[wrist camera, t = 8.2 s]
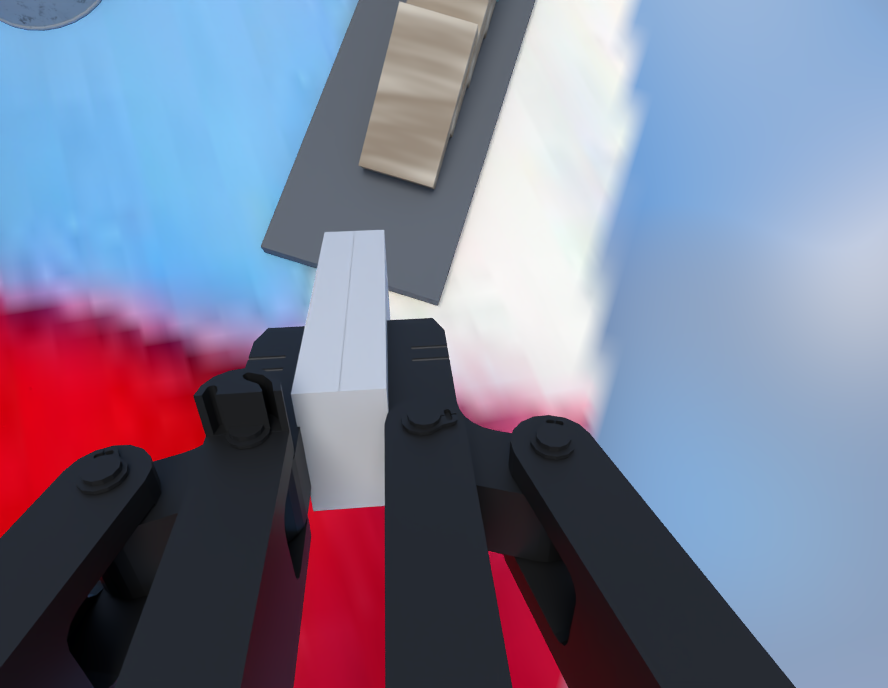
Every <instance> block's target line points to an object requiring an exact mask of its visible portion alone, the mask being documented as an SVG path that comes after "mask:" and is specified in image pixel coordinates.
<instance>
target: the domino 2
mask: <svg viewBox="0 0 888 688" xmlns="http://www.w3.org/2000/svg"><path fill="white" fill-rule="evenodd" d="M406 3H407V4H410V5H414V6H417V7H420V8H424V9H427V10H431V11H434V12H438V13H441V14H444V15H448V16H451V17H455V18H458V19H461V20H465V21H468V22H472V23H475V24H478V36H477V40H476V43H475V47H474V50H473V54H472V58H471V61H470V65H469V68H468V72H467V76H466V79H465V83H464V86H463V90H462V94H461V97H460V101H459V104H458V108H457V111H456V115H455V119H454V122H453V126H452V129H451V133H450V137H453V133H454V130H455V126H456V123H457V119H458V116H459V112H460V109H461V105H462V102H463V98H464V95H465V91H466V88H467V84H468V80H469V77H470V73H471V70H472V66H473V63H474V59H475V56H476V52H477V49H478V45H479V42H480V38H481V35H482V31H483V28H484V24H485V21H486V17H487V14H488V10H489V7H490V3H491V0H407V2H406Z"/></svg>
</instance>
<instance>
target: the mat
mask: <svg viewBox="0 0 888 688" xmlns="http://www.w3.org/2000/svg"><path fill="white" fill-rule="evenodd" d="M399 1H400V2H403V3H406V2H407V0H359V1H358V4H357V6H356V9H355V11H354V14H353V17H352V19H351V22H350V24H349V27H348V29H347V32H346V34H345V37H344V39H343V42H342V44H341V47H340V49H339V52H338V54H337V57H336V59H335V62H334V64H333V67H332V69H331V72H330V74H329V77H328V79H327V82H326V84H325V87H324V89H323V92H322V94H321V97H320V99H319V102H318V104H317V107H316V109H315V112H314V114H313V117H312V119H311V122H310V124H309V127H308V129H307V132H306V134H305V137H304V139H303V142H302V144H301V147H300V149H299V152H298V154H297V157H296V159H295V162H294V164H293V167H292V169H291V172H290V174H289V177H288V179H287V182H286V185H285V187H284V190H283V192H282V195H281V197H280V200H279V202H278V205H277V207H276V210H275V212H274V215H273V217H272V220H271V222H270V225H269V227H268V230H267V232H266V235H265V237H264V240H263V242H262V245H261V248H262V249H263V250H264V252H266V253H269V254H272V255H276V256H279V257H282V258H285V259H289V260H292V261H295V262H298V263H302V264H305V265H308V266H311V267H315V268H317V266H318V261H319V257H320V252H321V247H322V242H323V237H324V232H340V231H365V230H384V234H385V249H386V264H387V279H388V290H389V291H392V292H396V293H399V294H402V295H405V296H409V297H412V298H415V299H418V300H422V301H425V302H428V303H431V304H435V305H438V303H439V300H440V297H441V294H442V291H443V288H444V284H445V281H446V278H447V275H448V272H449V269H450V266H451V262H452V259H453V256H454V253H455V250H456V247H457V244H458V241H459V237H460V234H461V231H462V228H463V225H464V222H465V219H466V215H467V212H468V209H469V206H470V203H471V200H472V197H473V193H474V190H475V187H476V184H477V181H478V178H479V175H480V171H481V168H482V165H483V162H484V159H485V156H486V153H487V150H488V146H489V143H490V140H491V137H492V134H493V131H494V128H495V124H496V121H497V118H498V115H499V112H500V109H501V106H502V102H503V99H504V96H505V93H506V90H507V87H508V84H509V81H510V77H511V74H512V71H513V68H514V65H515V62H516V59H517V55H518V52H519V49H520V46H521V43H522V40H523V37H524V33H525V30H526V27H527V24H528V21H529V18H530V15H531V12H532V8H533V5H534V2H535V0H498V2H497V1H496V4H495V7H494V11H493V14H492V17H491V21H490V24H489V28H488V31H487V35H486V38H483V41H482V44H481V48H480V51H479V54H478V58H477V61H476V65H475V68H474V72H473V75H472V79H471V82H470V85H469V88H466V91H465V95H464V98H463V102H462V105H461V109H460V112H459V116H458V119H457V123H456V126H455V130H454V133H453V137H449V140H448V144H447V147H446V151H445V155H444V158H443V162H442V165H441V169H440V172H439V176H438V180H437V183H436V187H435V189H432V188H428V187H425V186H422V185H418V184H415V183H411V182H408V181H405V180H401V179H398V178H395V177H391V176H388V175H385V174H381V173H378V172H374V171H371V170H368V169H364V168H362V167H360V166H359V161H360V157H361V153H362V149H363V145H364V141H365V137H366V133H367V129H368V125H369V121H370V117H371V113H372V109H373V105H374V101H375V97H376V93H377V89H378V85H379V81H380V77H381V73H382V69H383V65H384V61H385V57H386V53H387V49H388V45H389V41H390V37H391V33H392V29H393V25H394V21H395V17H396V13H397V9H398V5H399Z"/></svg>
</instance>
